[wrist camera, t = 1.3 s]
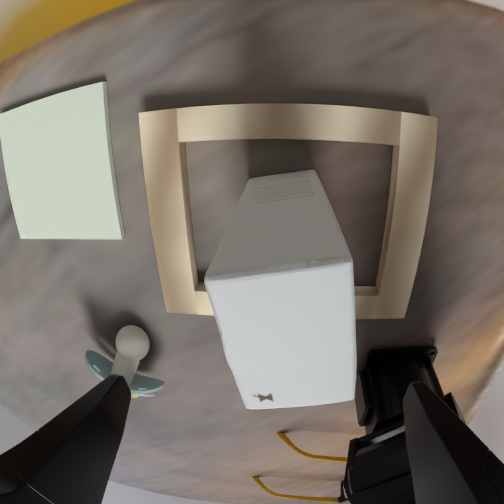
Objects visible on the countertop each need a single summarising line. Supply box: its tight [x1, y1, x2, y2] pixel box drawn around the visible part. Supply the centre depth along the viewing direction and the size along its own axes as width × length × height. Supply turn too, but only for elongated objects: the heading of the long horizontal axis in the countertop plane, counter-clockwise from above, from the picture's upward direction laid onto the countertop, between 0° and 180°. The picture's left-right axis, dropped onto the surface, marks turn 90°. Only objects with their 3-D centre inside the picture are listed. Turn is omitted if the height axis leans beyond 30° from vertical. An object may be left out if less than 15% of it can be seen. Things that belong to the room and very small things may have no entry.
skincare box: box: [204, 170, 357, 409], centre depth 15 cm, size 6×4×12 cm
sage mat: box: [0, 82, 125, 239], centre depth 20 cm, size 11×11×1 cm
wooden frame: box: [139, 103, 438, 319], centre depth 20 cm, size 17×14×1 cm
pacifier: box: [85, 325, 164, 398], centre depth 26 cm, size 7×6×6 cm
